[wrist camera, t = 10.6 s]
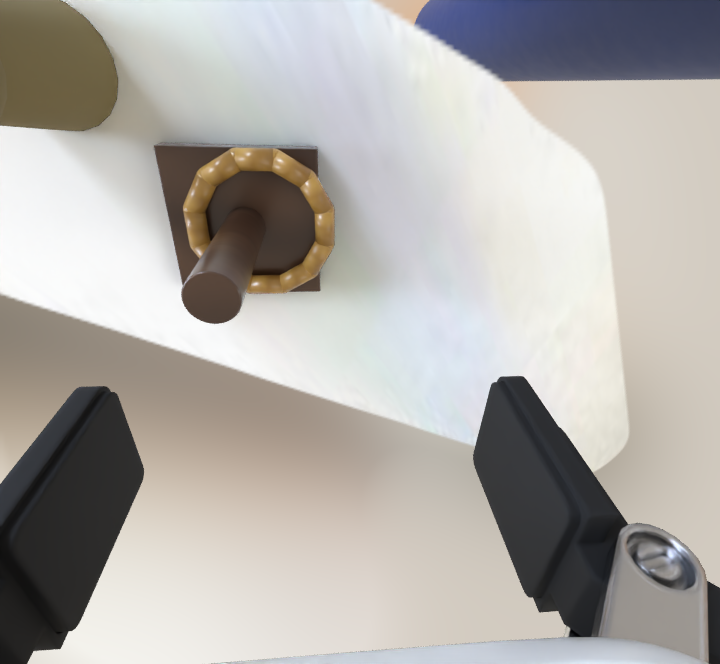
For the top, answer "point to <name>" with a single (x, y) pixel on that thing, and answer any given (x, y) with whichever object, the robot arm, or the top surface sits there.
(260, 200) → the rack
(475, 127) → the top surface
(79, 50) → the cork
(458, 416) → the top surface
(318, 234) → the ring
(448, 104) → the top surface
